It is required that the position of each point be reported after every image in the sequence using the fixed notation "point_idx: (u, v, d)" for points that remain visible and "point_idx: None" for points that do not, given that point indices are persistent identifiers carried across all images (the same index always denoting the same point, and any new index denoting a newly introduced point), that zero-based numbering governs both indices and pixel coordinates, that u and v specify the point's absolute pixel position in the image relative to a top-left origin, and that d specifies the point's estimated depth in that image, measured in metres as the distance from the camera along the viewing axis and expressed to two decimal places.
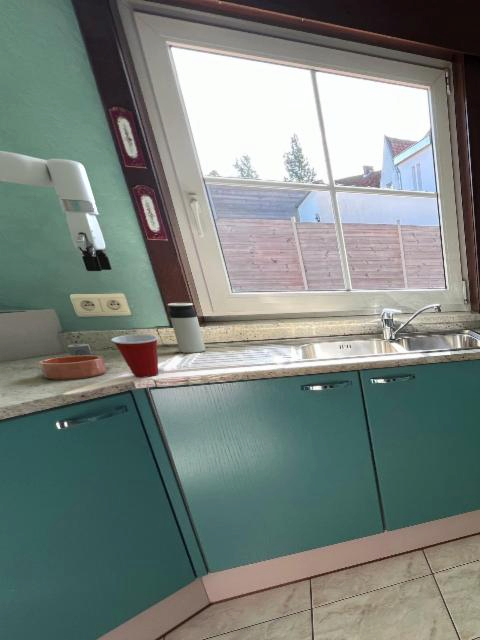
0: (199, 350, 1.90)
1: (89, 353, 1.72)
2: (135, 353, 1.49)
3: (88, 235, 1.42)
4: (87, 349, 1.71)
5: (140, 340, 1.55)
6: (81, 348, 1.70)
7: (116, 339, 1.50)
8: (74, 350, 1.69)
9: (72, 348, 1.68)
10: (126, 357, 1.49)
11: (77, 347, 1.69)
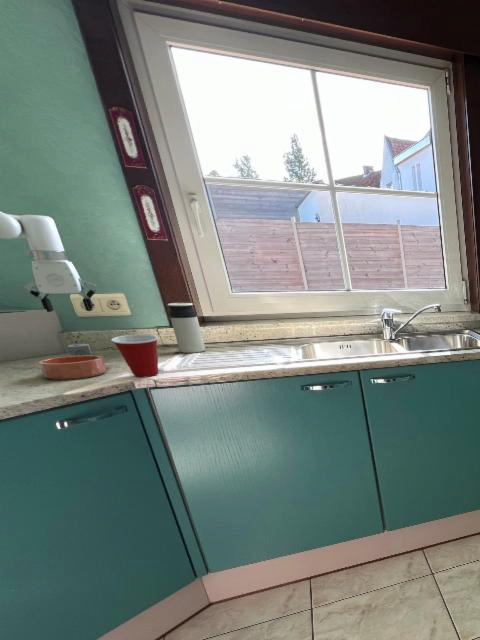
0: (199, 350, 1.90)
1: (89, 353, 1.72)
2: (135, 353, 1.49)
3: (81, 280, 1.65)
4: (87, 349, 1.71)
5: (140, 340, 1.55)
6: (81, 348, 1.70)
7: (116, 339, 1.50)
8: (74, 350, 1.69)
9: (72, 348, 1.68)
10: (126, 357, 1.49)
11: (77, 347, 1.69)
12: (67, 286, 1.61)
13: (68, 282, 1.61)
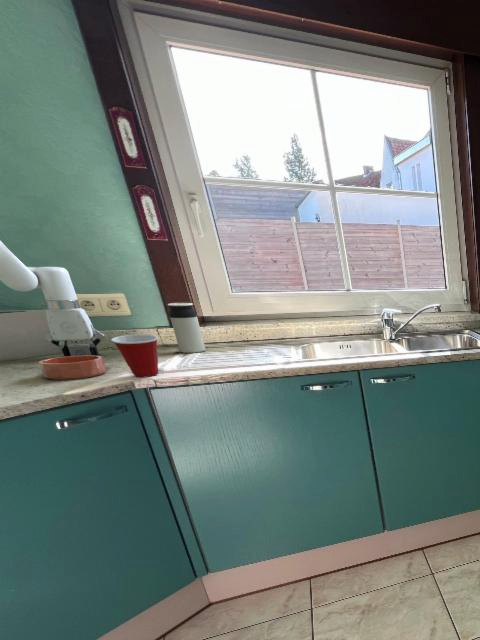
0: (199, 350, 1.90)
1: (89, 353, 1.72)
2: (135, 353, 1.49)
3: (92, 326, 1.72)
4: (87, 349, 1.71)
5: (140, 340, 1.55)
6: (81, 348, 1.70)
7: (116, 339, 1.50)
8: (74, 350, 1.69)
9: (72, 348, 1.68)
10: (126, 357, 1.49)
11: (77, 347, 1.69)
12: (80, 333, 1.68)
13: (81, 329, 1.68)
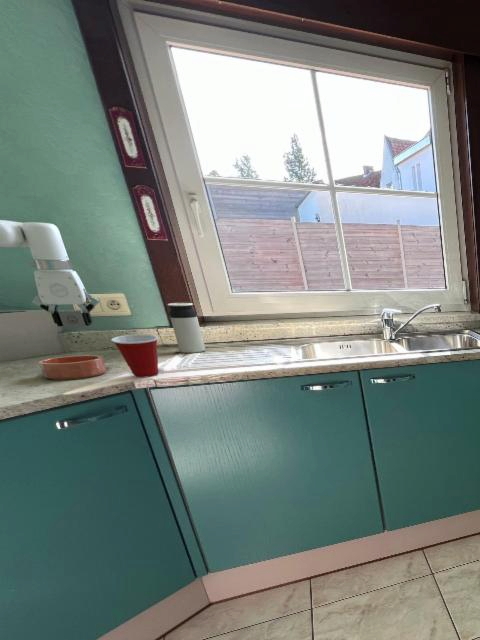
0: (199, 350, 1.90)
1: (82, 319, 1.57)
2: (135, 353, 1.49)
3: (85, 290, 1.58)
4: (79, 315, 1.57)
5: (140, 340, 1.55)
6: (73, 314, 1.56)
7: (116, 339, 1.50)
8: (65, 316, 1.55)
9: (63, 313, 1.54)
10: (126, 357, 1.49)
11: (68, 312, 1.55)
12: (71, 297, 1.54)
13: (72, 292, 1.54)
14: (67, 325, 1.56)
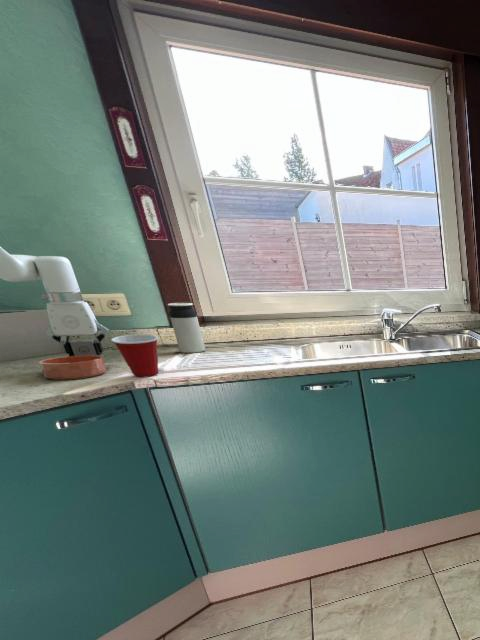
0: (199, 350, 1.90)
1: (93, 349, 1.60)
2: (135, 353, 1.49)
3: (96, 320, 1.60)
4: (91, 345, 1.59)
5: (140, 340, 1.55)
6: (84, 344, 1.58)
7: (116, 339, 1.50)
8: (77, 347, 1.57)
9: (75, 344, 1.57)
10: (126, 357, 1.49)
11: (80, 343, 1.57)
12: (83, 328, 1.56)
13: (84, 324, 1.56)
14: (78, 355, 1.58)
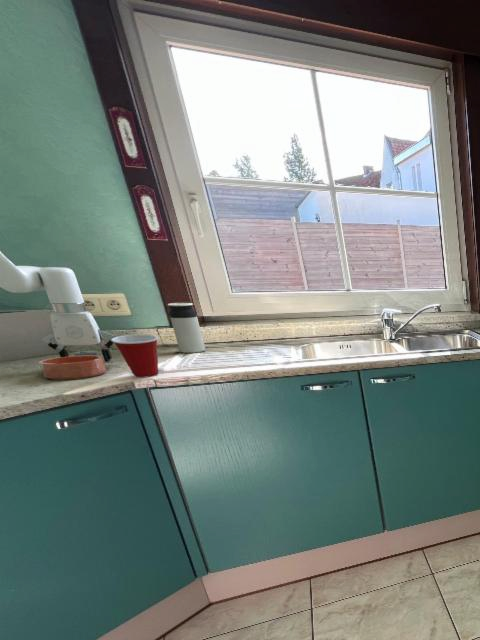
0: (199, 350, 1.90)
1: None
2: (135, 353, 1.49)
3: (99, 331, 1.61)
4: None
5: (140, 340, 1.55)
6: None
7: (116, 339, 1.50)
8: None
9: (79, 355, 1.58)
10: (126, 357, 1.49)
11: (84, 354, 1.59)
12: (86, 338, 1.58)
13: (87, 334, 1.57)
14: None
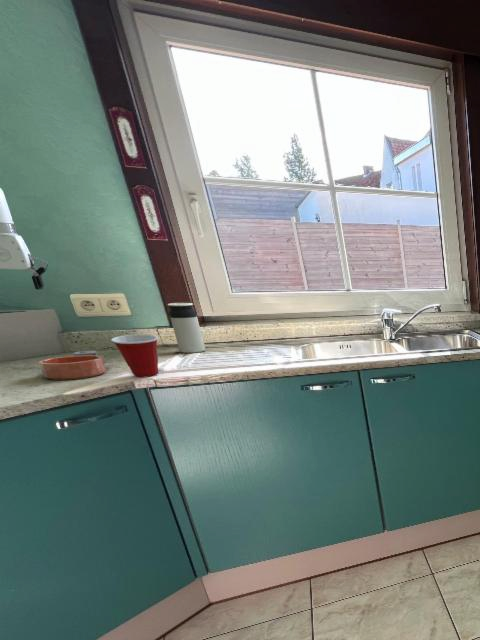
0: (199, 350, 1.90)
1: None
2: (135, 353, 1.49)
3: (31, 256, 1.54)
4: None
5: (140, 340, 1.55)
6: None
7: (116, 339, 1.50)
8: None
9: (79, 355, 1.58)
10: (126, 357, 1.49)
11: (84, 354, 1.59)
12: (14, 261, 1.50)
13: (16, 257, 1.50)
14: None
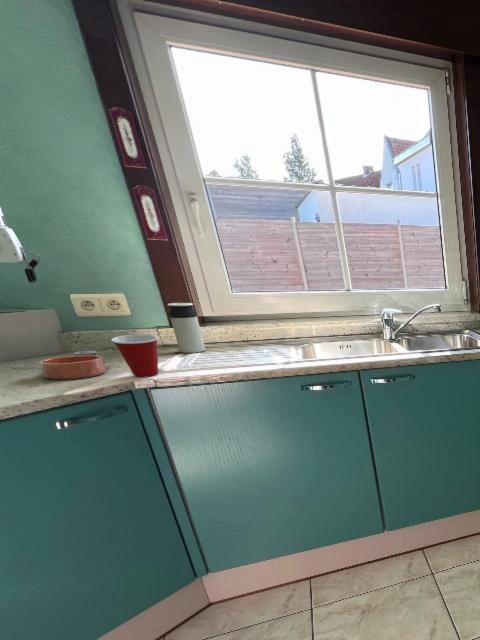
0: (199, 350, 1.90)
1: None
2: (135, 353, 1.49)
3: (22, 249, 1.53)
4: None
5: (140, 340, 1.55)
6: None
7: (116, 339, 1.50)
8: None
9: (79, 355, 1.58)
10: (126, 357, 1.49)
11: (84, 354, 1.59)
12: (6, 254, 1.50)
13: (7, 250, 1.49)
14: None
